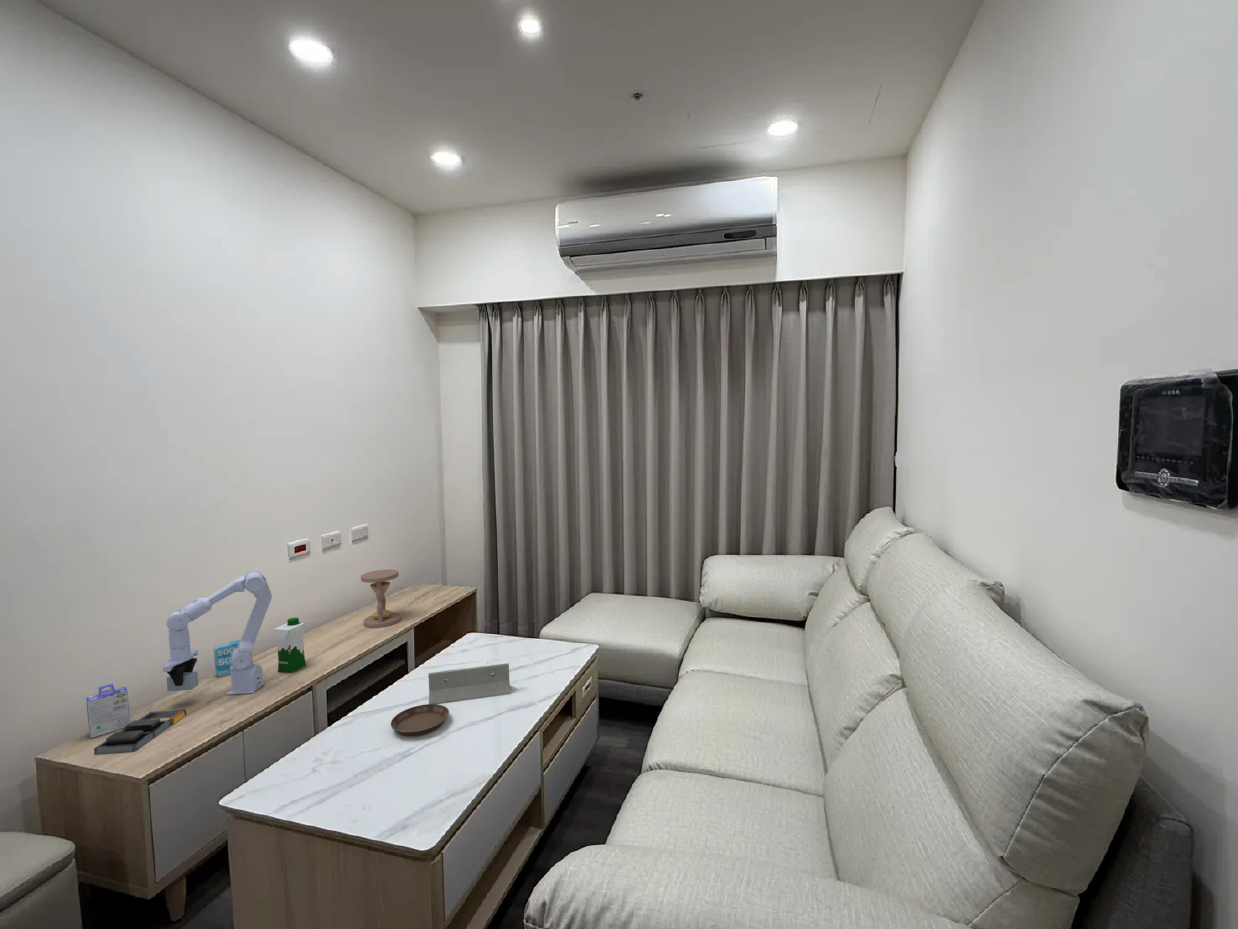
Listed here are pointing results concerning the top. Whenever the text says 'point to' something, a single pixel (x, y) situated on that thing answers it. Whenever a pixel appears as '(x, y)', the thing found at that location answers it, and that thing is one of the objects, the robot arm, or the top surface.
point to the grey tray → (139, 732)
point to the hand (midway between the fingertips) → (183, 682)
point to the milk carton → (290, 646)
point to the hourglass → (380, 598)
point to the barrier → (469, 683)
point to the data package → (224, 657)
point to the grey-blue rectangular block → (184, 682)
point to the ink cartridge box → (108, 710)
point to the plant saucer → (419, 720)
